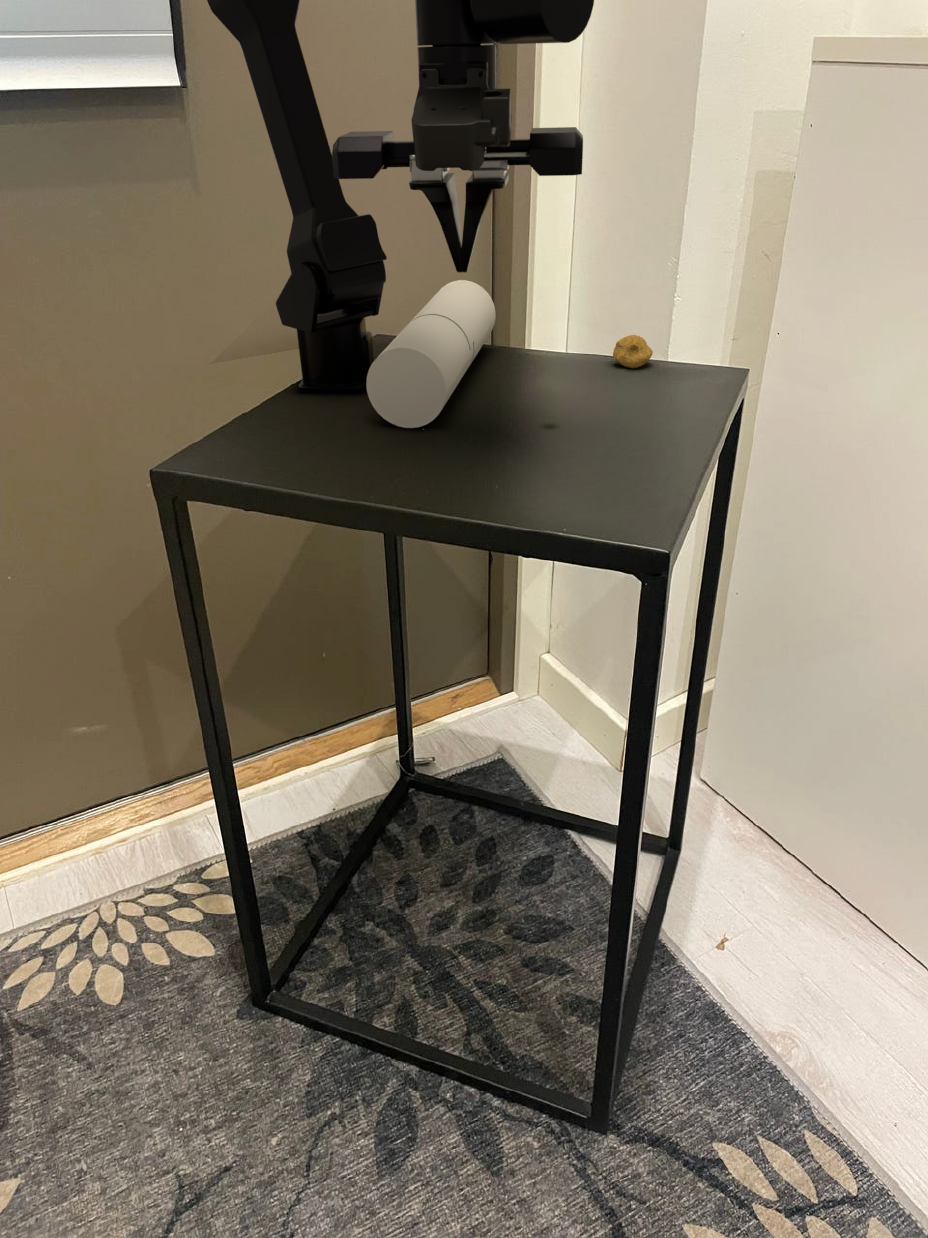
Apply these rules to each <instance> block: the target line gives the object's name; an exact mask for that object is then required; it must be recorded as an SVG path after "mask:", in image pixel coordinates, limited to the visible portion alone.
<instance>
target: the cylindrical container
mask: <svg viewBox="0 0 928 1238" xmlns="http://www.w3.org/2000/svg"><path fill="white" fill-rule="evenodd" d="M496 317H497V315H496V307H495V304H494V301H493V299H492V297H491V296H490V293H488V291H487V290H486V289H485V288H484V287H483V286H481V285H479V284H478V283H477V282H473V281H472V280H465V279H458V280H453V281H451V282H448V283H446V284H445V285H444V286H442V287H441V288H439V290H438V291H437V292H436V293H435V294H434V295H433V296H432V297H431V299H429V301H428V302H427V303H426V304H425V305H424V306H423V307H422V308H421V309H420V310H419V312H418V313H417V314H416V315H415V316H414V317H413V318H412V319H411V320H410V321H409V323H407V325H406V326H404V328H403V329H402V330H401V331H400V332H399V333H398V334H397V336H396V337H394V338H393V340H392V341H391V342H390V343H389V344H388V345H387V346H386V348H384V349H383V351H381V352H380V354H379V355H378V356H376V358H374V362H373V363H372V365H371V367H370V369H369V371H368V375H367V382H366V394H367V397H368V399H369V401H370V403H371V405H372V407H373V409H374V410H375V411H376V413H377V414H378V415H379V416H380V417H382V419H384V420H385V421H387V422H388V423H390V424H392V425H394V426H396V427H400V428H405V429H414V428H415V429H416V428H420V427H424V426H426V425H428V424H430V423H431V422H433V421H434V420H435V419H436V418H437V417H438V416H439V415H440V414H441V412H442V411H443V409H444V407H445V406H446V404H447V402H448V401H449V399H450V398H451V396H452V395H453V393H454V391H455V390H456V388H457V387H458V385H459V384H460V382H461V380H462V378H463V377H464V375H465V374H466V373H467V371H468V370H469V368H470V366H471V365H472V363H473V361H474V360H475V359H476V357H477V355H478V354H479V352H480V351H481V349H482V347H483V346H484V344H485V343H486V341H487V339H488V338H489V336H490V334H491V333H492V331H493V329H494V326H495V323H496Z"/></svg>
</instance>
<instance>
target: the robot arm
mask: <svg viewBox="0 0 928 1238" xmlns="http://www.w3.org/2000/svg"><path fill="white" fill-rule="evenodd" d="M206 1H207V4H208V7H209V8H210V11H211V12H212V14H213V15H214V17H216V18H217V19H218V20H219V22H221V24H222V25H223V26H224V27H225V28H226V29H227V30H228V32H229V33H230V34H231V35H232V36H233V37H234V38H235V40H237V41H238V43H239V46H240V47H241V50H242V53H243V58H244V60H245V65H246V67H247V69H248V73H249V76H250V81H251V83H252V86H253V89H254V93H255V96H256V100H257V103H258V106H259V109H260V112H261V116H262V119H263V122H264V126H265V129H266V131H267V135H268V138H269V142H270V145H271V148H272V152H273V154H274V158H275V161H276V164H277V169H278V171H279V175H280V176H281V181H282V184H283V187H284V190H285V194H286V197H287V200H288V203H289V206H290V207H289V208H290V210H291V213H292V222H291V227H290V233H289V237H288V242H287V246H286V256H287V260H288V265H289V269H290V273H291V274H290V276H289V277H288V279H287V281H286V282H285V284H284V286H283V288H282V290H281V291H280V293H279V295H278V297H277V299H276V301H275V307H276V310H277V313H278V316H279V319H280V322H281V325H282V326H285V327H289V328H292V329H295V330H296V337H297V345H298V353H299V359H300V360H299V361H300V369H301V378H302V380H301V381H300V383H299V384H298V386H297V387H298V391H299V392H335V393H336V392H338V393H339V392H345V393H346V392H347V393H348V392H350V393H351V392H353V393H354V392H357V393H358V392H360V393H361V392H363V391H365V389H366V388H367V386H366V382H367V375H368V371H369V369H370V367H371V365H372V363H373V362H374V361H375V356H374V344H373V343H374V342H373V333H372V331H370V330H369V331H368V330H367V325H366V318H368V317H375V316H378V315H379V312H380V307H381V302H382V296H383V292H384V291H383V290H384V285H385V283H386V282H387V270H386V265H385V262H384V261H386V260H387V259H388V256H387V255H386V253H385V251H384V249H383V247H382V244H381V242H380V238H379V232H378V227H377V226H378V225H377V222H376V221H375V219H374V217H373V216H372V214H370V213H367V214H361V215H359V214H358V213H357V212H356V211H355V209H353V208H352V207H351V205H349V203H348V202H347V200H346V198H345V197H346V196H345V195H344V192H343V187H342V185H341V182H340V180H362V179H363V180H365V179H366V180H368V179H371V180H373V179H374V178H376V176H377V175H378V174H379V173H380V171H382V170H387V169H388V168H409V172H410V177H411V180H410V181H408V185H409V189H410V190H412V191H421V192H422V193H423V194H424V196H425V197H426V199H427V201H428V202H429V204H430V206H431V207H432V209H433V212H434V213H435V215H436V217H437V220H438V223H439V225H440V227H441V231H442V233H443V236H444V238H445V241H446V244H447V247H448V250H449V254H450V256H451V259H452V262H453V265H454V268H455V271H456V272H457V273H467V272H468V270H469V266H470V263H471V259H472V256H473V253H474V249H475V244H476V241H477V237H478V233H479V231H480V227H481V223H482V220H483V216H484V213H485V210H486V208H487V205H488V203H489V201H490V198H491V196H492V193H493V191H494V190H501V189H505V188H506V186H507V184H508V183H509V180H510V172H508V171H509V169H510V166H529V167H531V168H532V169H533V171H534V172H535V173H536V174H537V175H538V176H539V177H555V176H556V177H559V176H560V177H562V176H580V175H583V158H584V157H583V156H584V152H583V151H584V135H583V134H582V132H581V131H580V130H579V129H578V128H577V126H565V127H563V126H561V127H532V128H531V129H530V132H529V138H512V132H513V129H512V127H513V115H512V111H513V109H512V93H511V88H497V44H500V45H525V44H526V45H530V44H531V45H533V44H567V43H571V42H574V41H576V40H577V39H578V38H579V37H580V36H581V35H582V34H583V33H584V31H585V29H586V28H587V27H588V25H589V22H590V20H591V17H592V13H593V8H594V5H595V0H414V4H415V5H414V6H415V26H416V47H417V49H416V52H417V73H418V89H417V94H416V97H415V102H414V106H413V112H412V116H411V122H410V123H411V131H412V140H395V135H394V133H393V132H394V131H393V130H375V131H374V130H373V131H372V130H371V131H368V130H367V131H365V130H364V131H349V132H347V133H345V134H343V135H340V136H338V137H337V139H336V140H335V142H334V143H333V144H332V149H331V146H330V143H329V138H328V137H327V133H326V129H325V125H324V122H323V119H322V116H321V112H320V110H319V105H318V102H317V101H318V100H317V98H316V95H315V90H314V88H313V83H312V81H311V77H310V73H309V70H308V67H307V64H306V60H305V58H304V57H305V56H304V53H303V49H302V47H301V41H300V39H299V36H298V32H297V27H296V23H297V18H298V14H299V8H300V3H301V0H206ZM456 168H458V169H460V170H461V171H469V172H472V174H471V175H470V177H468V178H467V181H466V182H465V204H464V205H465V206H464V215H463V228H462V227H461V219H460V218H461V217H460V209H459V200H458V191H457V181H456V172H449V171H450V170H451V169H456Z"/></svg>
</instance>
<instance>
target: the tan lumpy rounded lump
mask: <svg viewBox="0 0 928 1238" xmlns="http://www.w3.org/2000/svg"><path fill="white" fill-rule="evenodd" d="M653 353H654V352H653V350H652V348H651V347H650V346H649V345H648V344H647V342H646V340H645V339H644V337H642V336H640V335H637V334H630V335H626V336H624V337H622V338H620V339H619V340H617V341H616V342H615V346H614V348H613V352H612V357H613V359H614V360H615V361H616V362H617V363H619V364H620V365H622V366H623V367H625V368H629V369H638V368H639V367H642V366H644V365H646V364H647V363H648V362H649V361H650V359H651V358H652V356H653Z"/></svg>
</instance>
